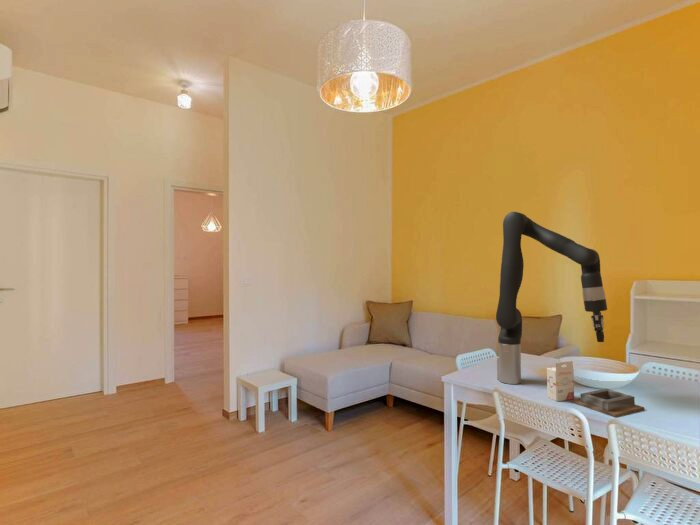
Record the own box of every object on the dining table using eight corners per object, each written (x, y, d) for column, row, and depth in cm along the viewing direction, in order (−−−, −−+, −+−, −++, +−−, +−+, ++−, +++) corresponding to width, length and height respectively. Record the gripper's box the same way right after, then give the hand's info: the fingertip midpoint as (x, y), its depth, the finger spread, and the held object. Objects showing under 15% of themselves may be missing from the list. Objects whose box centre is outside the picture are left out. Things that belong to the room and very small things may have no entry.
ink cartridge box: (564, 395, 158) (564, 358, 158) (574, 399, 153) (574, 361, 153) (546, 397, 156) (546, 359, 156) (556, 401, 151) (555, 362, 151)
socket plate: (572, 402, 150) (572, 391, 150) (600, 396, 156) (600, 386, 156) (614, 417, 135) (614, 405, 135) (644, 410, 141) (644, 398, 141)
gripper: (584, 298, 164) (590, 338, 162) (582, 300, 152) (589, 343, 150) (605, 297, 160) (612, 337, 158) (605, 299, 148) (612, 342, 146)
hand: (601, 340), depth 154 cm, fingers open, 8 cm apart
